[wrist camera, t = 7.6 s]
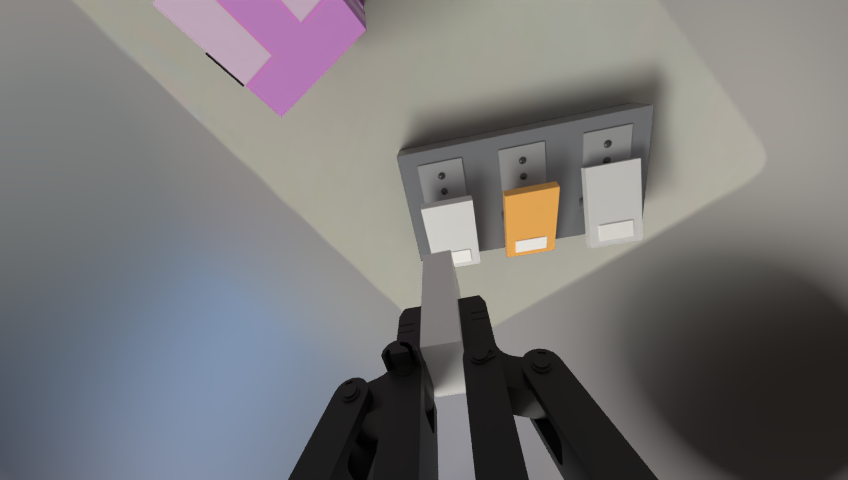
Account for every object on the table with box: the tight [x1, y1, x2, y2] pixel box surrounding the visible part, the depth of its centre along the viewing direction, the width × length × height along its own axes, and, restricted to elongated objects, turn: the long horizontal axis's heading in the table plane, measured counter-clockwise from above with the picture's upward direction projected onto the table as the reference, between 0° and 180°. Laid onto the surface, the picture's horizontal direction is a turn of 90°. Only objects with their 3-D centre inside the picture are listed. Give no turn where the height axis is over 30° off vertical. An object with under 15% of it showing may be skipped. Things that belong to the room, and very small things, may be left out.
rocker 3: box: [581, 158, 643, 248], centre depth 32 cm, size 8×5×1 cm, turn 12°
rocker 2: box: [503, 181, 560, 257], centre depth 33 cm, size 8×5×1 cm, turn 11°
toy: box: [152, 0, 366, 117], centre depth 24 cm, size 11×8×15 cm
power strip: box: [397, 103, 654, 261], centre depth 34 cm, size 12×24×4 cm, turn 102°
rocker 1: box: [421, 195, 480, 267], centre depth 33 cm, size 8×5×1 cm, turn 11°
